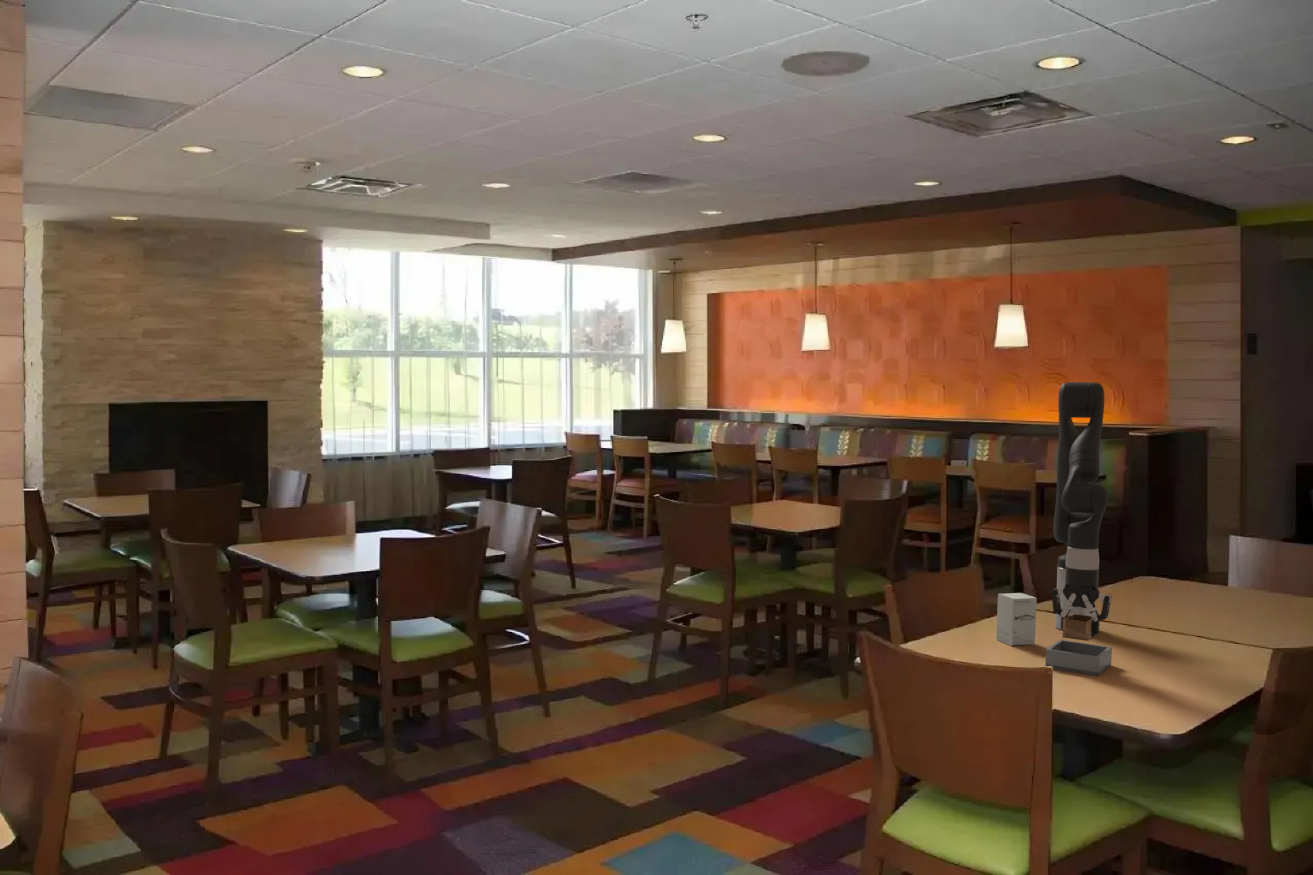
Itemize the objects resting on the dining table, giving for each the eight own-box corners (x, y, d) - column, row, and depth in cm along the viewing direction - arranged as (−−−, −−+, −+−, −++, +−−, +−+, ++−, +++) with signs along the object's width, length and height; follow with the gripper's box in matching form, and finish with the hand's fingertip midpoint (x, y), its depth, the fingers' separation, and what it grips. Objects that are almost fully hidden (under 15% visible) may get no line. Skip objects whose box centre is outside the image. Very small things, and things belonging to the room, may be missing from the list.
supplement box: (1011, 646, 292) (1012, 598, 291) (995, 639, 299) (997, 593, 298) (1035, 644, 294) (1037, 597, 293) (1019, 638, 301) (1021, 592, 300)
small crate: (1071, 631, 277) (1072, 613, 276) (1096, 634, 273) (1097, 616, 273) (1062, 637, 270) (1063, 619, 270) (1088, 641, 267) (1088, 622, 267)
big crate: (1059, 657, 281) (1060, 639, 281) (1111, 665, 274) (1111, 647, 274) (1045, 667, 271) (1046, 649, 271) (1098, 676, 264) (1099, 657, 263)
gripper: (1117, 567, 270) (1114, 635, 271) (1056, 560, 278) (1053, 627, 279) (1109, 571, 264) (1106, 641, 265) (1047, 564, 272) (1045, 632, 273)
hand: (1079, 633), depth 272 cm, fingers closed on small crate, 6 cm apart
